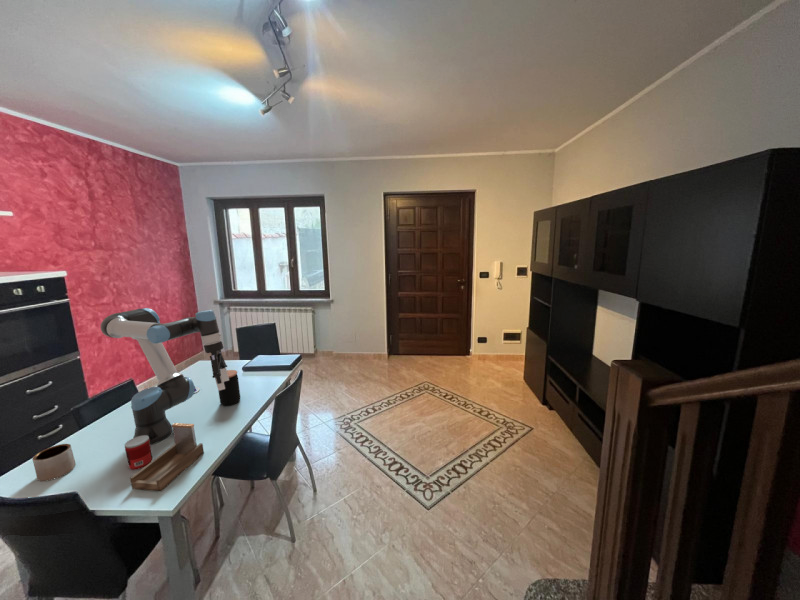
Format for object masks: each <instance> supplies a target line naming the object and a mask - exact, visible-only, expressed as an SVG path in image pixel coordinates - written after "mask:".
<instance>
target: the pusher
mask: <svg viewBox="0 0 800 600" xmlns="http://www.w3.org/2000/svg"><path fill="white" fill-rule="evenodd" d="M171 425H172V429H173V432H172V433H173V438H174V444H176V450H177V453H178V454H188V453H189V452H190V451H192V450H193V449H194V448H195V447H196V446H197V445H198V444H197V438H196V437H197V436H196V432H195V431H196V430H195V424H194V423H180V422H174V423H173V424H171Z"/></svg>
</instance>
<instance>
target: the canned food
mask: <svg viewBox="0 0 800 600" xmlns="http://www.w3.org/2000/svg"><path fill="white" fill-rule="evenodd" d="M124 451H125V455H126V459H127V460H126V461H127V464H128V465H127V466H128V468H129V469H130V470H132V471H135V470H136V471H137V470H141V469H143V468H144V467H145V466H147V465H148V464H149V463H150V462H152V461H153V460H154V459H153V451H152V447H151V445H150V440H149V437H148V436H146V435H143V436H138V437H135V438H131V439H129V440H127V441H126V442H125V444H124Z"/></svg>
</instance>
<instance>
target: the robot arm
mask: <svg viewBox="0 0 800 600" xmlns="http://www.w3.org/2000/svg"><path fill="white" fill-rule="evenodd" d="M160 321H161V318H160V317H159V314H158V313H157V312H156V311H155V310H153V309H151V308H149V307H145V308H144V307H142V308H137V309H132V310H127V311H121V312H115V313H112V314H110V315H108V316H106V317H105V318H104V319H103V320H102V322H101V323H100V331H101V333H102V334H103V335H104V336H106V337H109V338H113V339H122V338H131V339H133V340H136V341H137V342H138V345H139V347H140V348H141V350H142V352H143V354H144V356H145V357H146V360H147V361H148V363H149V365H150V367H151V369H152V371H153V373H154V375H155V376H156V377H155V378H156V379H157V380H158V382H157V385H156V386H152V387H149V388H145V389H142V390H140V391H138V392H136V394H134V395H133V396H132V397H131V401H130V402H131V403H130V405H131V406H130V407H131V409H132V415H133V420H134V425H135V428H134V435H133V438H135V437H138V436H143V435H146V436H148V437H149V440H150V446H151V445H154V444H158V443H159V442H162V441H163V440H166V439H167V438H168V437H170V436H171V435H172V434H173V433H174V432H173V427H172V425H173V424H171V422H170V421H169V420H168V418H167V415H166V411H168V410H170V409H172V408H174V407H176V406H178V405H180V404H182V403H184V402H186V401H188V400H189V399H191V398H192V397H193V396H194V395H195V393H194V389H195V388H194V386H195V384H194V382H193V380H192V379H191V378H190V377H188V376H184V374H183V373H181V372H180V373H179V372H178V370H177V368H176V366H175V365H174V362H173V361H172V359H171V357H170V355H169V354H168V351H167V350H166V347H165V345H164V344H163V343H165V342H168V341H171V340H174V339H177V338H180V337H185V336H189V335H191V334H192V335H193V334H194V333H196V334H197V333H200V337H201V341H202V344H203V345H204V346H203V348H204V352H205V353H206V354H211V355H210V356H209V358H210V364H211V371H212V376H211V377H212V379H215V383H216V387H217V390H218V392H219V391H220V390H223V389H225V386H224V382H225V381H229V377H228V374H227V368H228V364H227V363H226V361H225V359H224V356H223V353H222V350H223V349H224V344H223V341H222V338H221V336H223V335H222V333H220V329H219V324H218V322H217V317H216V314H215V311H214V310H212V309H208V310H202V311H199V312H196V313H195V316H192V317H189V316H188V317H185V318H181V319H179V320H178V319H177V320H174V321H171V322H165V323H162V322H160ZM133 438H132V439H133Z"/></svg>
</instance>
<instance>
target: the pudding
mask: <svg viewBox="0 0 800 600" xmlns="http://www.w3.org/2000/svg"><path fill="white" fill-rule="evenodd" d="M194 388H195V389H194V394H195V393H198V392H199V391H200V390H201V388H200V387H199V386H195V385H194Z"/></svg>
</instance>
